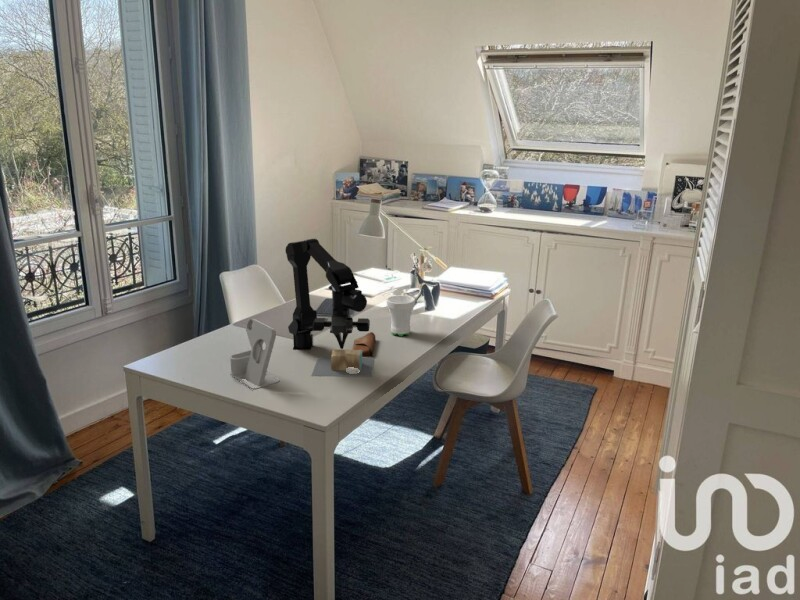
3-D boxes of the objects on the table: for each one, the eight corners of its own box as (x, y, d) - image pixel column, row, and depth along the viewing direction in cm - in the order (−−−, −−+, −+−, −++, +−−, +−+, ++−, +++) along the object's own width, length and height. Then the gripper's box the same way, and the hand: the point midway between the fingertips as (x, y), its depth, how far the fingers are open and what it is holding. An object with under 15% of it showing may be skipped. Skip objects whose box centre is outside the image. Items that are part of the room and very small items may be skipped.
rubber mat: (311, 377, 199) (311, 375, 199) (318, 358, 214) (318, 357, 214) (372, 377, 199) (372, 376, 199) (374, 358, 214) (374, 357, 214)
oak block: (331, 356, 202) (360, 356, 202) (333, 349, 208) (362, 349, 208) (331, 370, 204) (361, 370, 203) (333, 362, 209) (362, 363, 209)
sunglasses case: (353, 339, 232) (362, 325, 230) (368, 348, 233) (377, 334, 231) (349, 357, 215) (358, 342, 213) (366, 367, 216) (376, 352, 214)
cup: (413, 328, 244) (414, 295, 240) (415, 338, 234) (416, 303, 229) (386, 328, 244) (386, 295, 240) (386, 338, 233) (386, 303, 229)
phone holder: (228, 373, 201) (224, 322, 196) (255, 365, 207) (252, 316, 202) (253, 391, 189) (249, 337, 183) (281, 382, 195) (279, 329, 190)
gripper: (309, 311, 192) (310, 357, 197) (367, 312, 192) (368, 358, 197) (314, 301, 203) (315, 344, 207) (369, 302, 203) (370, 345, 207)
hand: (341, 348), depth 204 cm, fingers closed
